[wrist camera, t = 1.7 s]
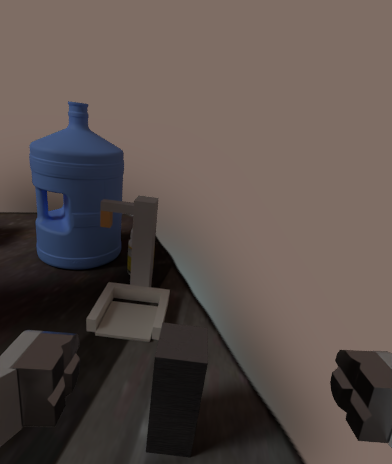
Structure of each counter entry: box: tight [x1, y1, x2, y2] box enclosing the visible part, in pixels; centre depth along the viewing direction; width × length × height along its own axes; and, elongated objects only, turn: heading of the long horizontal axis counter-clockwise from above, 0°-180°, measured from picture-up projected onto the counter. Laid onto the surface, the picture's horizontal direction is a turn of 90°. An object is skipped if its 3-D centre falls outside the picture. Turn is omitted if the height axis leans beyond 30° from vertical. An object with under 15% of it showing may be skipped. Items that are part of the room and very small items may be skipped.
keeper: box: [86, 196, 170, 342], centre depth 41 cm, size 12×13×16 cm
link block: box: [146, 322, 208, 457], centre depth 26 cm, size 4×4×11 cm
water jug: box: [29, 102, 124, 270], centre depth 54 cm, size 16×16×28 cm
